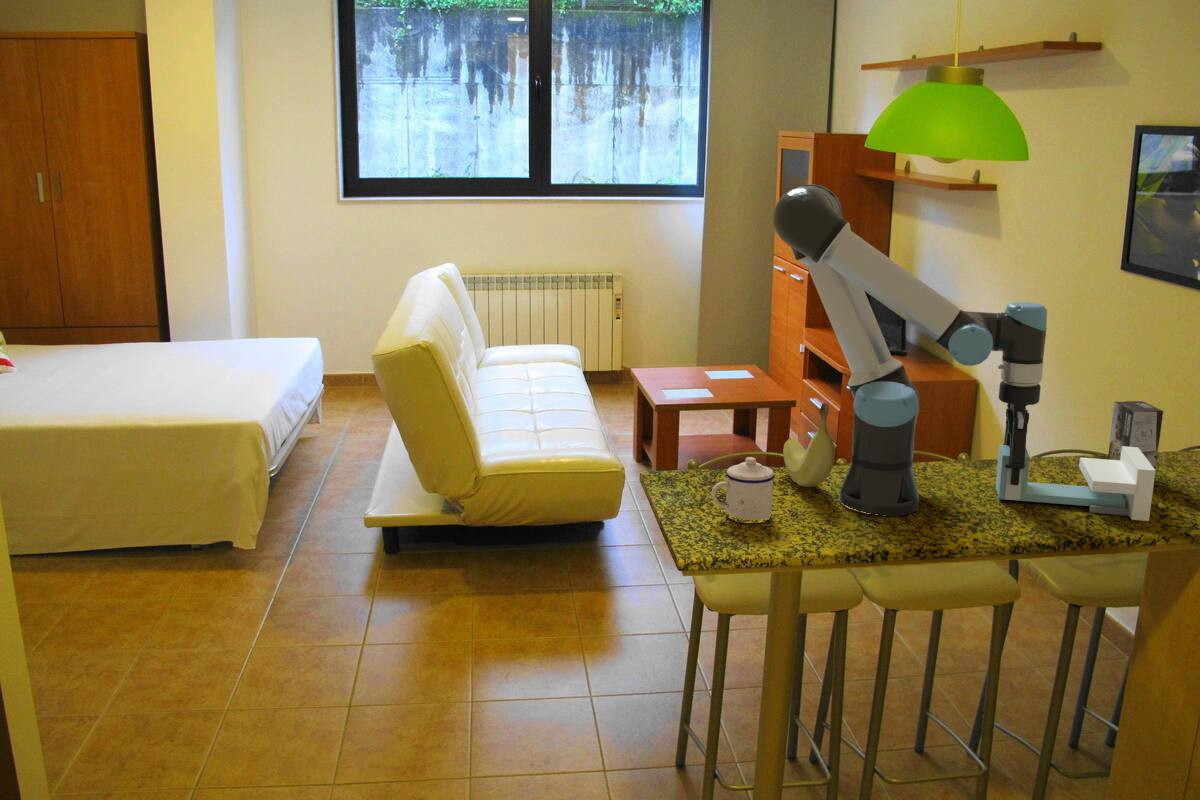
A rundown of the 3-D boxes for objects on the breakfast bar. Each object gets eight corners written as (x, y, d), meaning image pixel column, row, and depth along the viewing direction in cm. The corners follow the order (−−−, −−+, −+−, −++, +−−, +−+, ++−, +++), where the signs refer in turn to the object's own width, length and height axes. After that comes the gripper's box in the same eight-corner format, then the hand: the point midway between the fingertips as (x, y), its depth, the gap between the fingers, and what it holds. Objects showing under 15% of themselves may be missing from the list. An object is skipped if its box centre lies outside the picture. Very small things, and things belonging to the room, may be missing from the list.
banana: (775, 469, 236) (779, 379, 231) (800, 468, 237) (805, 378, 232) (808, 503, 214) (814, 405, 210) (837, 502, 215) (843, 404, 210)
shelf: (1088, 515, 208) (1094, 465, 206) (1076, 490, 223) (1081, 443, 221) (1148, 521, 206) (1155, 470, 203) (1132, 494, 221) (1138, 447, 218)
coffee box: (1155, 486, 226) (1165, 411, 222) (1123, 486, 226) (1133, 410, 223) (1134, 472, 235) (1144, 400, 231) (1104, 472, 235) (1113, 400, 231)
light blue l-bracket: (998, 499, 216) (1002, 455, 214) (995, 486, 224) (999, 444, 221) (1124, 508, 210) (1130, 464, 208) (1117, 495, 218) (1122, 452, 216)
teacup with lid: (762, 507, 212) (764, 450, 210) (780, 523, 204) (782, 463, 201) (703, 511, 210) (705, 453, 207) (719, 528, 201) (721, 467, 198)
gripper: (995, 370, 224) (986, 475, 230) (1004, 392, 205) (994, 507, 210) (1034, 372, 223) (1024, 478, 228) (1047, 395, 203) (1036, 510, 208)
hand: (1010, 492), depth 219 cm, fingers closed on light blue l-bracket, 8 cm apart
